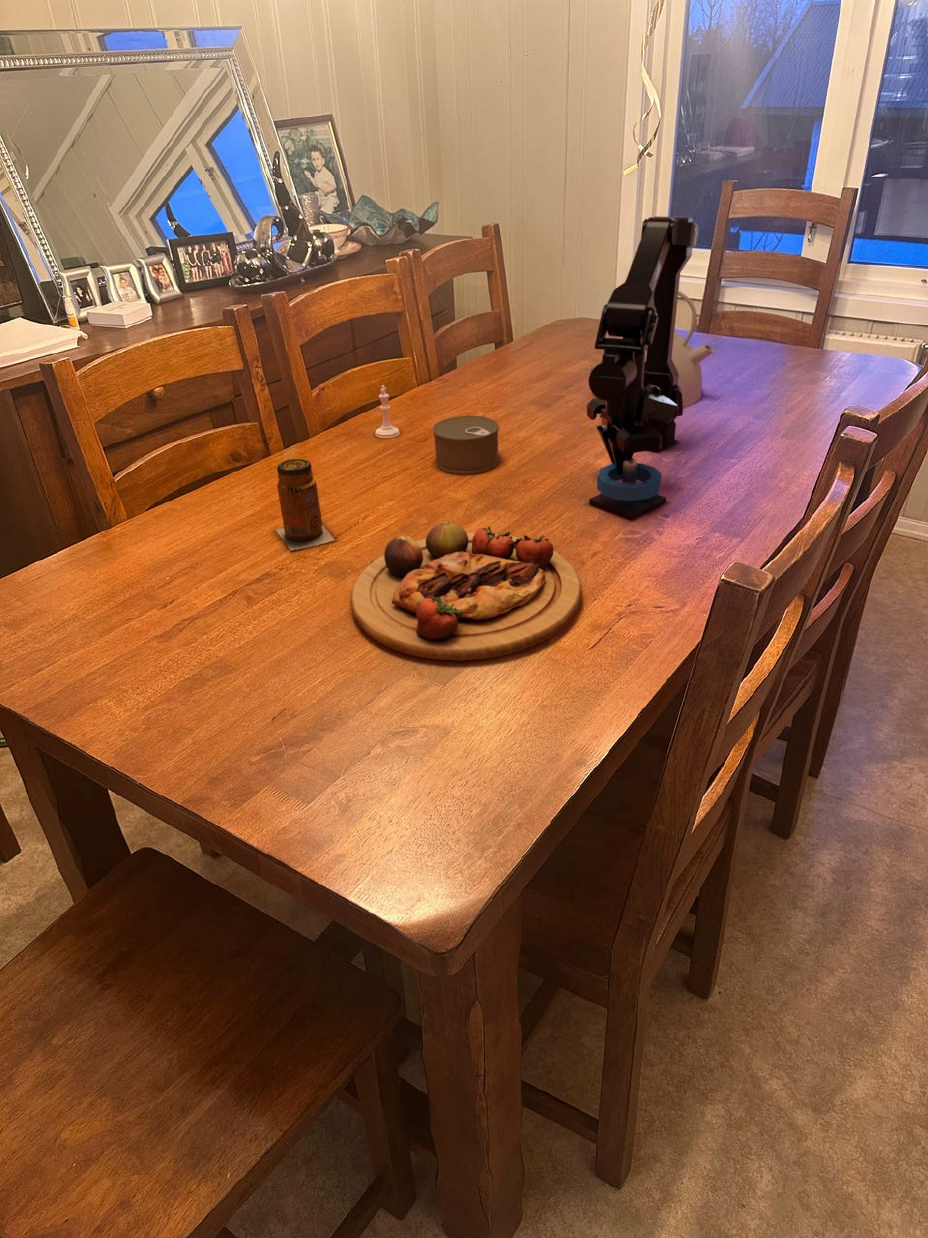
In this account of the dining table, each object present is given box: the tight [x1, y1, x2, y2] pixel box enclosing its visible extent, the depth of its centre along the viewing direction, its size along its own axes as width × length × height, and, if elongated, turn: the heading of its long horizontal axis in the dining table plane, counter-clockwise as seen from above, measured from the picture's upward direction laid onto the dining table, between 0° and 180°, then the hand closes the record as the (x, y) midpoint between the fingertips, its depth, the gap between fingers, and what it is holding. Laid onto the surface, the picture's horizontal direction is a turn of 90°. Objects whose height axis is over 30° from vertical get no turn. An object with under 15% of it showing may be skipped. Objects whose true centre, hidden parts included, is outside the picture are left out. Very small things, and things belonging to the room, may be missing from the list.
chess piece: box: [374, 384, 401, 439], centre depth 174 cm, size 5×5×10 cm
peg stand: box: [588, 457, 667, 521], centre depth 142 cm, size 9×9×8 cm
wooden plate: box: [349, 519, 583, 661], centre depth 119 cm, size 32×32×8 cm
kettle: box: [618, 290, 715, 408], centre depth 184 cm, size 25×23×22 cm
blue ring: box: [596, 462, 662, 501], centre depth 143 cm, size 10×10×2 cm
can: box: [432, 415, 500, 476], centre depth 161 cm, size 12×12×7 cm
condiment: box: [275, 458, 336, 552], centre depth 137 cm, size 7×8×12 cm
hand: (619, 472), depth 146 cm, fingers closed on blue ring, 2 cm apart
